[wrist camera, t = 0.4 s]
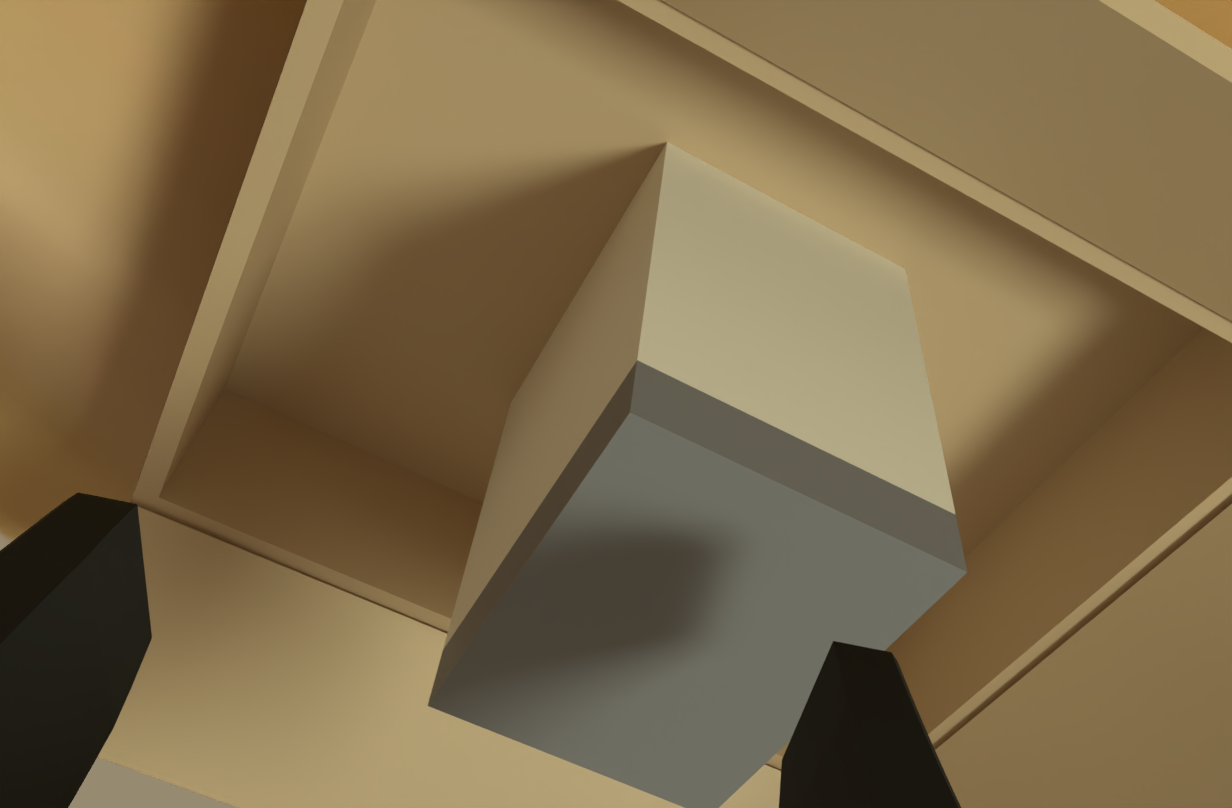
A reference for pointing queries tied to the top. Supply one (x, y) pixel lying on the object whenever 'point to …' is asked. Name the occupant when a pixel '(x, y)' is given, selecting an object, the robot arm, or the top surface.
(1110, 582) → the carton
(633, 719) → the block
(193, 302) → the top surface
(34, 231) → the top surface
